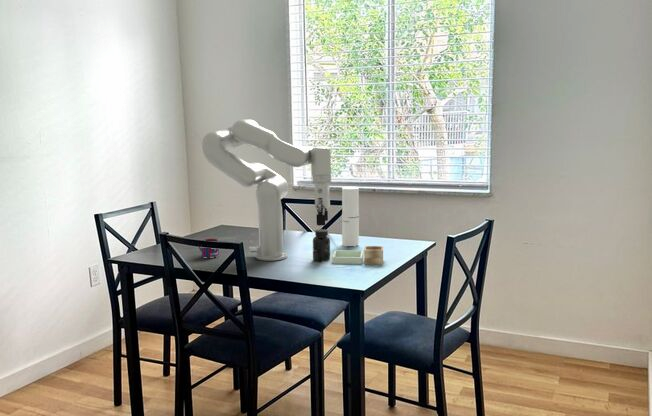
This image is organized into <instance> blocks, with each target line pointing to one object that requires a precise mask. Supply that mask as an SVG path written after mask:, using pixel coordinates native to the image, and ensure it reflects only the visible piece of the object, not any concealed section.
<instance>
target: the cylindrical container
mask: <svg viewBox="0 0 652 416" xmlns="http://www.w3.org/2000/svg"><path fill="white" fill-rule="evenodd" d="M341 189H342V190H341V202H342V203H341V207H342V208H341V211H342V212H341V217H342V218H341V228H342V229H341V230H342V232H341V233H342V234H341V236H342V237H341V238H342V240H341V243H342V244H341V245H342V246H344V247H347V246H354V247H357V246H356V245H358V244H359V243H360V241H359V239H360V236H359V235H360V229H359V228H360V226H359V225H360V224H359V223H360V221H359V220H360V210H359V209H360V208H359V207H360V198H359V197H360V188H359V187H358V186H344V187H343V186H342V188H341ZM359 245H360V244H359ZM359 245H358V246H359Z"/></svg>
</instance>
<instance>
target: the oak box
mask: <svg viewBox="0 0 652 416" xmlns="http://www.w3.org/2000/svg"><path fill="white" fill-rule="evenodd" d="M363 261H364V263H363V265H383V264H384V246H383V245H365V246H364V250H363Z"/></svg>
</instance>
